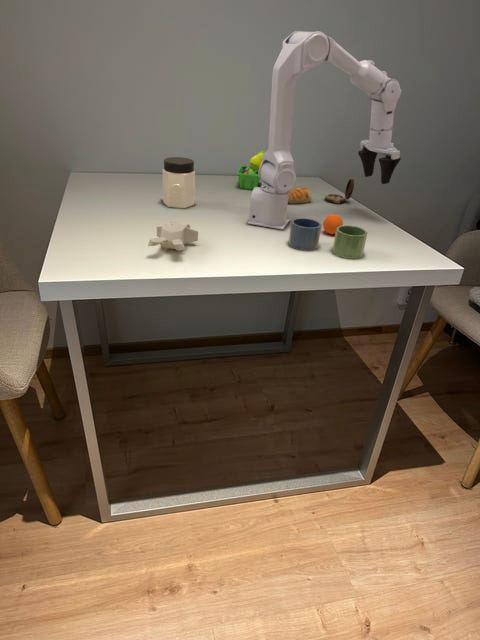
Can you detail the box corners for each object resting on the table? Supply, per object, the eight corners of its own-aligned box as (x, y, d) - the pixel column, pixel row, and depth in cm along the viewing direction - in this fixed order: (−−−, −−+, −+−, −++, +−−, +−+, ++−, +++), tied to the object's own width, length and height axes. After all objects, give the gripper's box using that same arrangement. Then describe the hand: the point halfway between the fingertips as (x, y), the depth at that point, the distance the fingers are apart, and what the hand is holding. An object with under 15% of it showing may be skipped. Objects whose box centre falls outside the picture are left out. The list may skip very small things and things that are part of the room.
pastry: (290, 206, 138) (292, 193, 136) (275, 200, 143) (276, 187, 141) (312, 202, 144) (314, 189, 142) (297, 196, 148) (298, 184, 146)
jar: (160, 206, 129) (159, 162, 123) (165, 198, 136) (165, 155, 130) (192, 209, 129) (193, 165, 123) (196, 201, 136) (197, 158, 130)
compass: (323, 197, 149) (327, 174, 146) (347, 199, 149) (352, 176, 146) (326, 204, 142) (330, 180, 139) (352, 206, 142) (357, 182, 139)
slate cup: (285, 247, 110) (288, 225, 107) (291, 237, 116) (294, 216, 113) (315, 252, 108) (319, 230, 106) (319, 242, 114) (323, 221, 111)
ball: (320, 235, 119) (323, 216, 116) (323, 229, 123) (326, 210, 121) (339, 238, 118) (343, 219, 115) (342, 232, 122) (345, 213, 119)
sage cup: (330, 255, 108) (334, 232, 105) (334, 245, 113) (338, 223, 111) (361, 261, 106) (366, 238, 103) (363, 250, 112) (368, 228, 109)
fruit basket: (240, 180, 160) (242, 146, 154) (266, 183, 159) (269, 148, 153) (235, 189, 150) (238, 152, 144) (263, 192, 149) (266, 155, 144)
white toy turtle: (202, 221, 109) (188, 236, 96) (201, 242, 111) (187, 260, 98) (162, 217, 110) (143, 231, 96) (162, 238, 112) (143, 255, 98)
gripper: (412, 130, 118) (405, 183, 126) (376, 121, 129) (372, 170, 137) (389, 135, 116) (383, 189, 124) (355, 125, 127) (352, 175, 135)
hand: (376, 179), depth 130 cm, fingers open, 7 cm apart
